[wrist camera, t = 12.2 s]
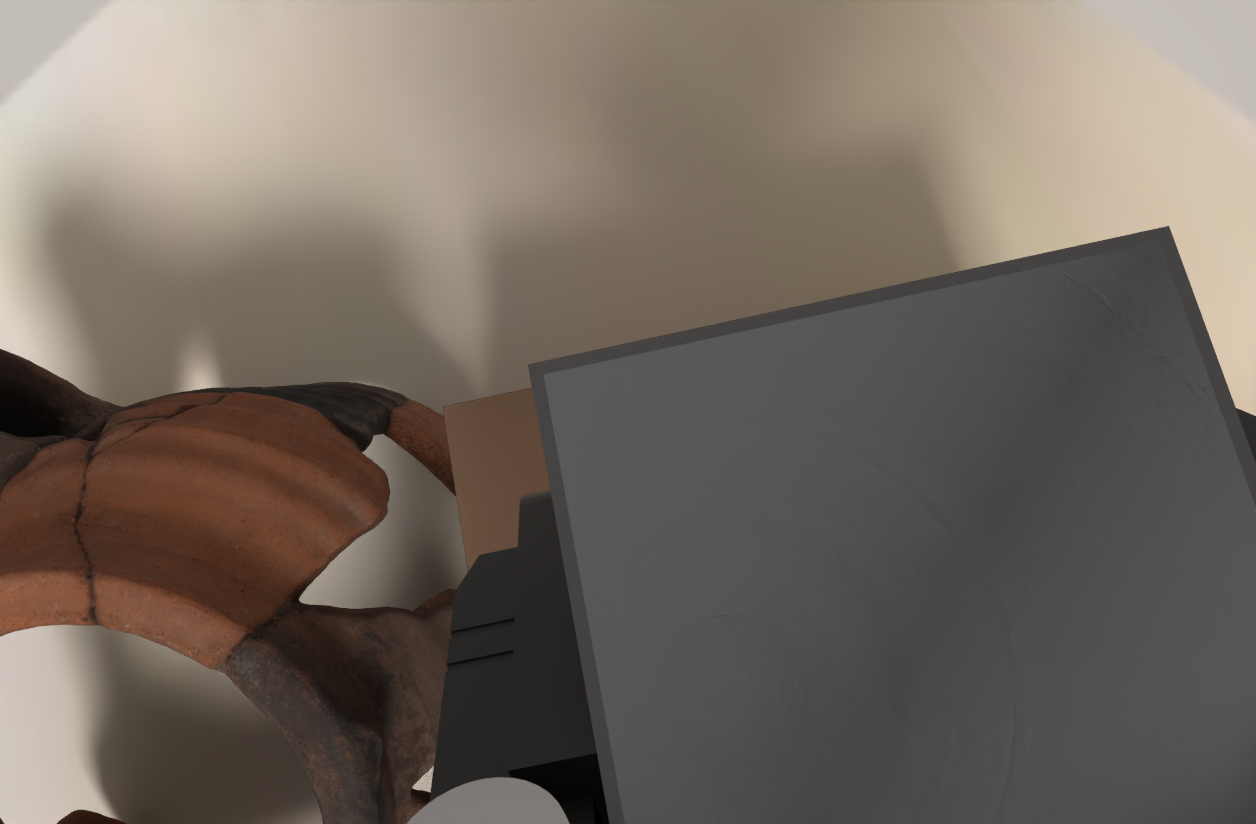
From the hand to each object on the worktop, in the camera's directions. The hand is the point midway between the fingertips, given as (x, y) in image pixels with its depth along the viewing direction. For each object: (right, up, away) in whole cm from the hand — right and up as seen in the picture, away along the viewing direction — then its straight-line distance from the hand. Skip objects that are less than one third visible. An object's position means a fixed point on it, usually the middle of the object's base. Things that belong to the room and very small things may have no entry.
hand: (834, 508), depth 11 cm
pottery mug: (-9, -3, +9) cm, 13 cm away
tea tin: (+1, -2, +4) cm, 5 cm away
